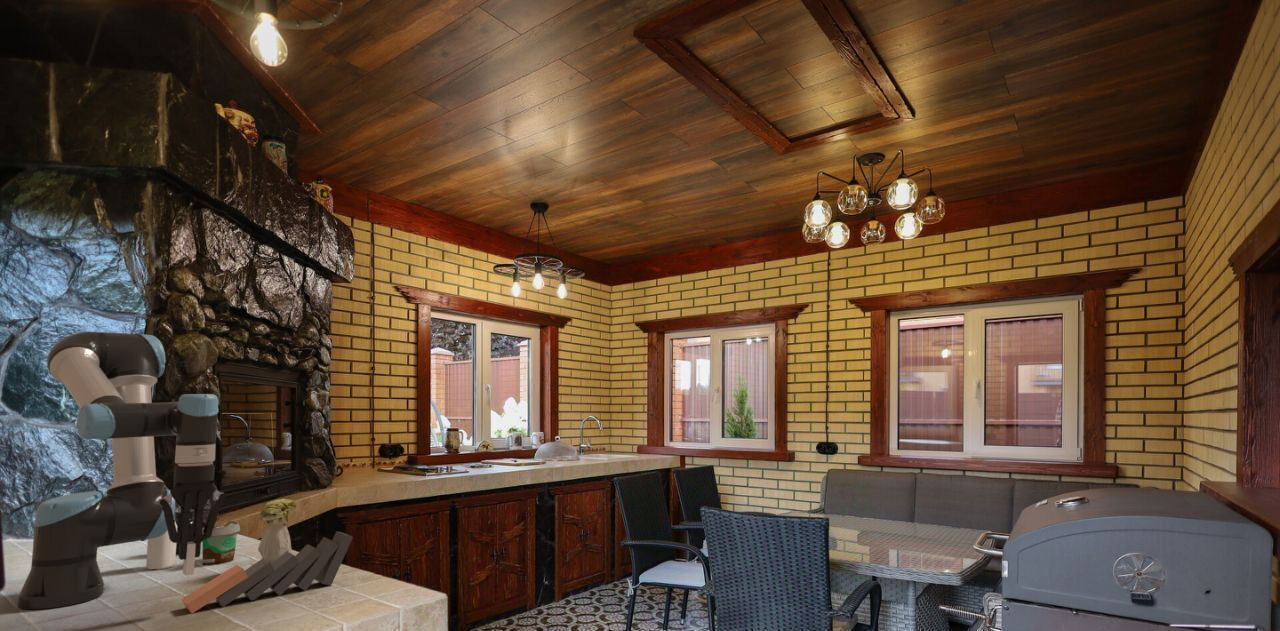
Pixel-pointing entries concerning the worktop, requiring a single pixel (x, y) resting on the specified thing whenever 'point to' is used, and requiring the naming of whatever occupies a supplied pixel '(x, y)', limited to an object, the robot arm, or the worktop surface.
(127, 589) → the worktop surface
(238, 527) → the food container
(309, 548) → the domino
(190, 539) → the supplement bottle
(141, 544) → the worktop surface
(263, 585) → the domino
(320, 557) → the domino
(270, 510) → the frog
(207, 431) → the robot arm
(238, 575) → the domino
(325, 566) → the domino
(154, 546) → the can
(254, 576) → the domino
